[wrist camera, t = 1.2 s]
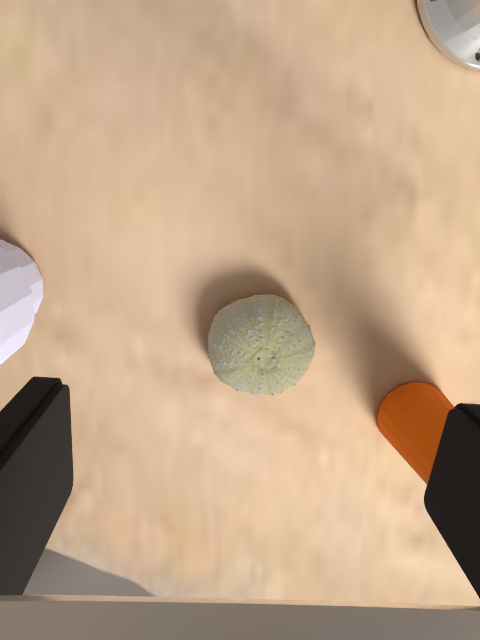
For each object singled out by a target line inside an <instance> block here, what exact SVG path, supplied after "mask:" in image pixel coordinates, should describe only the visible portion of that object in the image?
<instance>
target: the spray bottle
mask: <svg viewBox="0 0 480 640" xmlns="http://www.w3.org/2000/svg"><path fill="white" fill-rule="evenodd" d="M454 408H455V407H454V406H453V405H452V404H451V403H450V401H449V400H448V399H447V398H446V397H445V395H444V394H443V393H442V392H441V391H440V389H438V388H436V387H434V386H432V385H430V384H428V383H420V382H411V383H408V384H405V385H401V386H399V387H397V388H396V389H394V390H393V391H392V392H390V393H389V394H388V395H387V396H386V397H385V399H384V400H383V402H382V403H381V405H380V407H379V411H378V416H377V421H378V426H379V430H380V432H381V433H382V434H383V435H384V437H385V438H386V439H387V440H388V441H389V442H390V444H391V445H392V446H393V447H394V448H395V449H396V450H397V451H398V453H399V454H400V455H401V456H402V457H403V458H404V459H405V460H406V462H407V463H408V464H409V465H410V466H411V467H412V468H413V469H414V471H415V472H416V473H417V474H418V475H419V476H420V477H421V478H422V480H423V481H424V482H425V483H426V484H428V481H429V477H430V474H431V470H432V467H433V463H434V460H435V456H436V453H437V449H438V446H439V442H440V439H441V435H442V432H443V428H444V425H445V421H446V418H447V414H448V412H449V411H450V409H454Z"/></svg>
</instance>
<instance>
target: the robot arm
mask: <svg viewBox="0 0 480 640" xmlns="http://www.w3.org/2000/svg"><path fill="white" fill-rule="evenodd" d="M417 6H418V10H419V14H420V17H421V21H422V24H423V27H424V28H425V30H426V32H427V34H428V36H429V38H430V40H431V42H432V43H433V44H434V45H435V46H436V48H437V49H438V50H439V51H440V53H441V54H443V55H444V56H445V57H446V58H448V59H449V60H450V61H451V62H453V63H455V64H457V65H459V66H461V67H463V68H465V69H469V70H473V71H478V72H480V0H431V1H430V0H417ZM475 56H476V57H477V58H475ZM72 486H73V457H72V435H71V412H70V391H69V386H68V385H63V384H62V382H61V380H60V379H59V378H48V377H33V378H31V379H30V380H29V381H28V383H27V384H26V385H25V386H24V387H23V388H22V389H21V390H20V391H19V392H18V393H17V394H16V395H15V396H14V397H13V398H12V400H11V401H10V402H9V403H8V404H7V405H6V406H5V407H4V408H3V409H2V410H1V411H0V640H480V607H477V606H450V605H423V604H392V603H360V602H327V601H293V600H258V599H218V598H176V597H134V596H83V595H22V594H23V592H24V590H25V588H26V586H27V584H28V582H29V580H30V577H31V575H32V573H33V571H34V569H35V567H36V565H37V563H38V561H39V559H40V557H41V555H42V552H43V550H44V548H45V546H46V544H47V542H48V540H49V538H50V536H51V534H52V532H53V530H54V527H55V525H56V523H57V521H58V519H59V517H60V515H61V513H62V511H63V509H64V507H65V504H66V502H67V500H68V498H69V496H70V494H71V491H72ZM424 504H425V508H426V510H427V512H428V514H429V515H430V517H431V519H432V520H433V522H434V524H435V525H436V527H437V529H438V530H439V532H440V534H441V535H442V537H443V539H444V540H445V542H446V544H447V545H448V547H449V548H450V550H451V552H452V553H453V555H454V557H455V558H456V560H457V562H458V563H459V565H460V567H461V568H462V570H463V572H464V573H465V575H466V576H467V578H468V580H469V581H470V583H471V585H472V586H473V588H474V590H475V591H476V593H477V595H478V596H479V598H480V405H479V404H463V403H459V404H457V405H456V406H455V408H454V409H450V411H449V412H448V414H447V418H446V421H445V425H444V428H443V432H442V435H441V439H440V442H439V446H438V449H437V453H436V456H435V460H434V463H433V467H432V470H431V474H430V477H429V481H428V484H427V488H426V491H425V495H424Z"/></svg>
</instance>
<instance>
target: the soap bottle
mask: <svg viewBox="0 0 480 640" xmlns="http://www.w3.org/2000/svg"><path fill="white" fill-rule="evenodd" d="M42 298H43V278H42V276H41V274H40V272H39V270H38V268H37V265H36V263H35V262H34V261H33V260H32V259H31V258H30V257H29V256H28V255H27V254H26V253H25V252H24V251H23V250H22V249H21V248H19V247H17V246H14V245H12V244H10V243H8V242H6V241H4V240H0V365H1V364H2V363H3V362H4V361H5V360H6V359H8V358H9V357H10V356H11V355H12V354H13V353H14V352H15V351H17V350H18V349H19V348H20V347H21V346H22V345H23V344H24V343H25V342H26V339H27V337H28V334H29V332H30V329H31V327H32V324H33V322H34V314H35V313H36V312H37V311H38V308H39V306H40V303H41V301H42Z"/></svg>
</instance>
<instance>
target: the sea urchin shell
mask: <svg viewBox="0 0 480 640" xmlns="http://www.w3.org/2000/svg"><path fill="white" fill-rule="evenodd" d="M207 338H208V355H209V356H208V358H209V359H210V363H211V365H212V368H213V371H214V373H215V374H216V375H217V377H218V378H219V379H220V381H222V382H223V383H225V384H227V385H229V386H230V387H232V388H234V389H235V390H237V391H243V392H248V393H251V394H255V395H275V394H278V393H282V392H284V391H285V390H287V389H288V388H290V387H291V386H293V385H296V383H297V382H298V381H299V379H300V378H301V377H302V375H303V374H304V373H305V372H306V371H307V370H308V366H309V364H310V362H311V360H312V358H313V356H314V350H315V346H314V345H315V341H314V339H313V336H312V333H311V328H310V325H308V324H307V322H306V321H305V319H304V318H303V316H302V314H301V313H300V311H299V309H298V308H296V307H295V306H294V305H292V304H291V303H290V302H288V301H287V300H286V299H284V298H282V297H279V296H276V295H274V294H272V295H270V294H265V295H257V294H255V295H254V296H250V297H247V298H243V299H239V300H235V301H234V302H232V303H231V304H229V305H227V306H225V307H223V308H222V309H220V310H219V312H218V313H217V314H216V315H215V317H213V321H212V323H211V328H210V331H209V334H208V336H207Z"/></svg>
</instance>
